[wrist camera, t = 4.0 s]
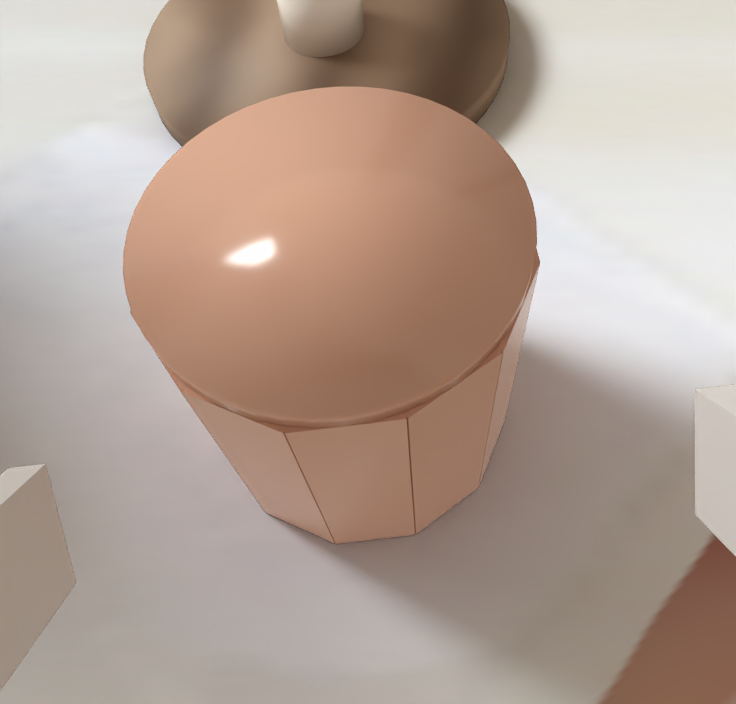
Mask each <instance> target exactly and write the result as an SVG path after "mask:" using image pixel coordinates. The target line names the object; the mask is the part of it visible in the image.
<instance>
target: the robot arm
mask: <svg viewBox="0 0 736 704" xmlns="http://www.w3.org/2000/svg"><path fill="white" fill-rule="evenodd" d="M695 515H696V516H697V517H698V518H699V519H700V520H701V521H702V522H703V523H704V524H705V525H706V526H707V527H708V528H709V529H710V530H711V532H712V533H713V534H714V535H715V536H716V537H717V538H718V539H719V540H720V541H721V542H722V543H723V544H724V545H725V546H726V547H727V548H728V549H729V550H730V551H731V552H732V553H733V554H734V555H735V556H736V386H735V385H726V386H718V387H709V388H700V389H695ZM75 584H76V580H75V576H74V572H73V568H72V565H71V561H70V557H69V553H68V549H67V545H66V541H65V537H64V534H63V530H62V526H61V522H60V518H59V514H58V510H57V506H56V502H55V499H54V495H53V491H52V487H51V483H50V479H49V475H48V471H47V468H46V464H39V465H30V466H21V467H13V468H8V469H7V470H6V471H4V472H3V473H2V474H1V475H0V691H1V689H2V688H3V686H4V685H5V684H6V682H7V681H8V679H9V678H10V676H11V675H12V674H13V672H14V671H15V669H16V668H17V666H18V665H19V664H20V662H21V661H22V659H23V658H24V656H25V655H26V654H27V652H28V651H29V649H30V648H31V646H32V645H33V644H34V642H35V641H36V639H37V638H38V636H39V635H40V634H41V632H42V631H43V629H44V628H45V626H46V625H47V624H48V622H49V621H50V619H51V618H52V617H53V615H54V614H55V612H56V611H57V609H58V608H59V607H60V605H61V604H62V602H63V601H64V599H65V598H66V597H67V595H68V594H69V592H70V591H71V589H72V588H73V587H74V585H75Z"/></svg>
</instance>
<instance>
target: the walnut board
mask: <svg viewBox="0 0 736 704" xmlns="http://www.w3.org/2000/svg"><path fill="white" fill-rule="evenodd" d="M362 10H363V20H364V33H363V35H362V37H361V39H360V40H359V41H358V43H357V44H356V45H354V46H353V47H352V48H350V49H349V50H347V51H345V52H343V53H340V54H337V55H334V56H329V57H308V56H304V55H301V54H298V53H296V52H295V51H293V50H292V49H290V48H289V46H288V45H287V44H286V42H285V39H284V34H283V29H282V24H281V19H280V14H279V9H278V5H277V0H169V1H168V3H167V4H166V5H165V6H164V8H163V9H162V10H161V12H160V13H159V15H158V17H157V18H156V20H155V22H154V23H153V25H152V28H151V30H150V33H149V35H148V38H147V41H146V46H145V51H144V75H145V80H146V85H147V87H148V90H149V92H150V94H151V97H152V99H153V101H154V104H155V106H156V108H157V111H158V113H159V115H160V118H161V120H162V122H163V124H164V125H165V127H166V128H167V130H168V131H169V133H170V134H171V136H172V137H173V138H174V139H175V140H176V141H177V142H178V143H179V144H180V145H181V146H182V147H183V146H184V145H185V144H186V143H187V142H188V141H190V140H191V139H193V138H194V137H195V136H197V135H198V134H199V133H201V132H202V131H203V130H205V129H206V128H208V127H209V126H211V125H213V124H215V123H216V122H218V121H220V120H221V119H223V118H225V117H226V116H229V115H231V114H233V113H235V112H237V111H239V110H241V109H243V108H246V107H248V106H250V105H253V104H256V103H259V102H262V101H264V100H267V99H270V98H274V97H277V96H281V95H285V94H289V93H292V92H298V91H304V90H310V89H315V88H327V87H371V88H382V89H388V90H394V91H399V92H404V93H409V94H412V95H415V96H419V97H422V98H425V99H429V100H431V101H434V102H436V103H438V104H441V105H443V106H446V107H448V108H450V109H452V110H454V111H456V112H457V113H459V114H461V115H463V116H465V117H466V118H468V119H470V120H471V121H472V122H474V123H476V122H477V121H478V120H479V119H480V118H481V117H482V115H483V114H484V113H485V112H486V111H487V109H488V108H489V106H490V105H491V103H492V101H493V100H494V98H495V97H496V95H497V93H498V91H499V88H500V86H501V83H502V81H503V79H504V74H505V69H506V64H507V57H508V48H509V38H510V22H509V17H508V12H507V7H506V5H505V2H504V0H362Z"/></svg>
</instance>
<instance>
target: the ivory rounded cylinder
mask: <svg viewBox="0 0 736 704" xmlns="http://www.w3.org/2000/svg"><path fill="white" fill-rule="evenodd" d="M277 5H278V9H279V14H280V19H281V24H282V29H283V34H284V39H285V42H286V44H287V45H288V46H289V48H290V49H292V50H293V51H295V52H296V53H298V54H301V55H304V56H308V57H329V56H334V55H337V54H340V53H343V52H345V51H347V50H349V49H350V48H352V47H353V46H354V45H356V44H357V43H358V41H359V40H360V39H361V37H362V35H363V33H364V20H363V10H362V0H277Z"/></svg>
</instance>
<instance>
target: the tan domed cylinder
mask: <svg viewBox="0 0 736 704" xmlns="http://www.w3.org/2000/svg"><path fill="white" fill-rule="evenodd" d="M536 245H537V231H536V217H535V212H534V207H533V202H532V198H531V196H530V193H529V190H528V188H527V185H526V182H525V180H524V178H523V177H522V175H521V173H520V171H519V170H518V168H517V166H516V164H515V163H514V161H513V160H512V159H511V157H510V156H509V155H508V154H507V152H506V151H505V150H504V149H503V147H502V146H501V145H500V144H499V143H498V142H497V141H496V140H495V139H493V138H492V137H491V136H490V135H489V134H488V133H487V132H486V131H485V130H483V129H482V128H481V127H479V126H478V125H476V124H475V123H474V122H472V121H471V120H470V119H468V118H466V117H465V116H463V115H461V114H459V113H457V112H456V111H454V110H452V109H450V108H448V107H446V106H443V105H441V104H438V103H436V102H434V101H431V100H429V99H425V98H422V97H419V96H415V95H412V94H409V93H404V92H399V91H394V90H388V89H382V88H371V87H327V88H315V89H310V90H304V91H298V92H292V93H289V94H285V95H281V96H277V97H274V98H270V99H267V100H264V101H262V102H259V103H256V104H253V105H250V106H248V107H246V108H243V109H241V110H239V111H237V112H235V113H233V114H231V115H229V116H226V117H225V118H223V119H221V120H220V121H218V122H216V123H215V124H213V125H211V126H209V127H208V128H206V129H205V130H203V131H202V132H201V133H199V134H198V135H197V136H195V137H194V138H193V139H191V140H190V141H188V142H187V143H186V144H185V145H184V146H183V147H182V148H181V149H180V150H178V151H177V152H176V153H175V154H174V155H173V156H172V157H171V158H170V159H169V160H168V161H167V162H166V164H165V165H164V166H163V167H162V168H161V169H160V170H159V171H158V173H157V174H156V175H155V177H154V178H153V180H152V181H151V183H150V184H149V185H148V187H147V188H146V190H145V191H144V193H143V195H142V197H141V199H140V201H139V203H138V205H137V207H136V209H135V211H134V213H133V216H132V219H131V222H130V225H129V228H128V231H127V236H126V241H125V247H124V255H123V276H124V283H125V290H126V295H127V298H128V301H129V304H130V308H131V312H130V313H131V315H132V316H133V318H134V320H135V321H136V323H137V324H138V326H139V327H140V329H141V331H142V333H143V335H144V336H145V338H146V339H147V341H148V342H149V344H150V345H151V346H152V348H153V349H154V351H155V352H156V354H157V355H158V357H159V359H160V360H161V362H162V363H163V365H164V366H165V368H166V369H167V371H168V373H169V374H170V376H171V377H172V379H173V380H174V382H175V383H176V385H177V387H178V388H179V390H180V391H181V393H182V394H183V395H184V397H185V398H186V400H187V401H188V403H189V404H190V405H191V407H192V408H193V410H194V411H195V413H196V414H197V415H198V417H199V418H200V420H201V421H202V423H203V424H204V425H205V427H206V428H207V430H208V431H209V433H210V434H211V435H212V437H213V438H214V440H215V441H216V443H217V444H218V445H219V447H220V448H221V450H222V451H223V453H224V454H225V455H226V457H227V458H228V460H229V461H230V463H231V464H232V465H233V467H234V468H235V470H236V471H237V473H238V474H239V475H240V477H241V478H242V480H243V481H244V483H245V484H246V485H247V487H248V488H249V490H250V491H251V493H252V494H253V495H254V497H255V498H256V500H257V501H258V503H259V504H260V505H261V507H262V508H263V510H264V511H265V512H266V513H267V514H270V515H272V516H274V517H276V518H279V519H281V520H283V521H285V522H287V523H290V524H292V525H294V526H296V527H299V528H301V529H303V530H305V531H307V532H310V533H312V534H314V535H316V536H319V537H321V538H323V539H325V540H328V541H330V542H332V543H334V544H335V543H336V544H340V543H349V542H358V541H366V540H375V539H384V538H392V537H401V536H410V535H415V533H416V534H417V533H419V532H420V531H421V530H423V529H424V528H425V527H427V526H428V525H430V524H431V523H432V522H434V521H435V520H436V519H438V518H439V517H440V516H442V515H443V514H444V513H446V512H447V511H448V510H450V509H451V508H452V507H454V506H455V505H456V504H458V503H459V502H460V501H462V500H463V499H464V498H466V497H467V496H468V495H470V494H471V493H472V492H474V491H475V490H476V489H478V487H479V485H480V483H481V480H482V478H483V475H484V473H485V470H486V467H487V465H488V462H489V460H490V457H491V455H492V452H493V450H494V447H495V444H496V442H497V439H498V437H499V434H500V432H501V429H502V427H503V424H504V421H505V417H506V412H507V408H508V404H509V399H510V395H511V390H512V386H513V381H514V377H515V372H516V368H517V363H518V359H519V355H520V350H521V346H522V341H523V337H524V332H525V328H526V323H527V319H528V314H529V310H530V306H531V301H532V297H533V292H534V288H535V283H536V279H537V274H538V270H539V266H540V260H539V256H538V253H537V249H536Z"/></svg>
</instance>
